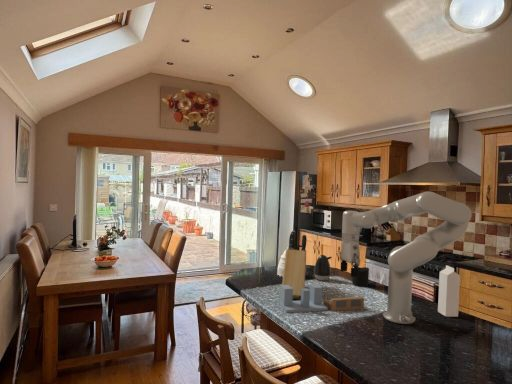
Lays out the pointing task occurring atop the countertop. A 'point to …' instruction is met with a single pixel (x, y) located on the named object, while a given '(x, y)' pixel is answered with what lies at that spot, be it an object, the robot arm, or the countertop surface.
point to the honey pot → (281, 264)
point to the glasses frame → (345, 303)
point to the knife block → (295, 266)
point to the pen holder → (361, 277)
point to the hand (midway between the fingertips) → (348, 273)
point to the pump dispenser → (322, 268)
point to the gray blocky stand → (302, 299)
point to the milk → (448, 292)
